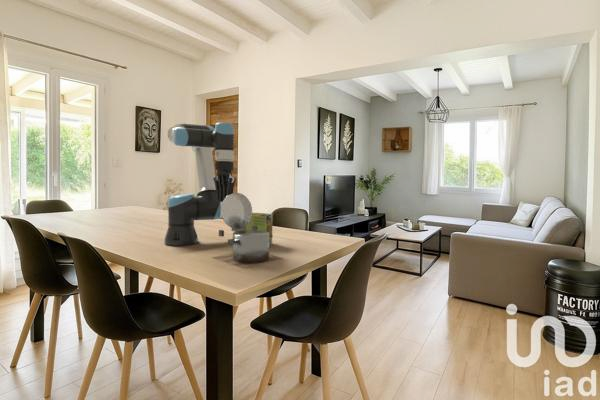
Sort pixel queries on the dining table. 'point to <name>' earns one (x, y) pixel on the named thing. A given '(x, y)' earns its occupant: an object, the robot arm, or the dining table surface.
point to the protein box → (261, 223)
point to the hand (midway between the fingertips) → (224, 217)
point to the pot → (250, 245)
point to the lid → (236, 211)
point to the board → (229, 259)
